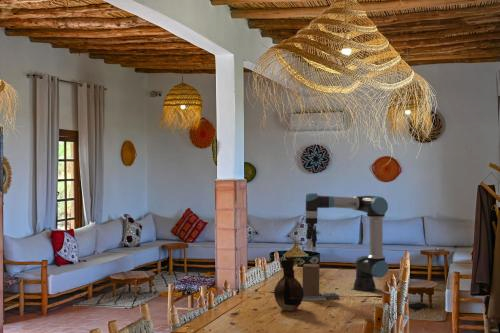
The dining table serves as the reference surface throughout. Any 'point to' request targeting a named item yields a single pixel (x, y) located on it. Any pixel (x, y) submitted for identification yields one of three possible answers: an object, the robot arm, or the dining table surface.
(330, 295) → the button housing
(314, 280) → the wooden block
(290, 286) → the ceramic vessel
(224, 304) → the dining table surface
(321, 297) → the shallow gray tray
